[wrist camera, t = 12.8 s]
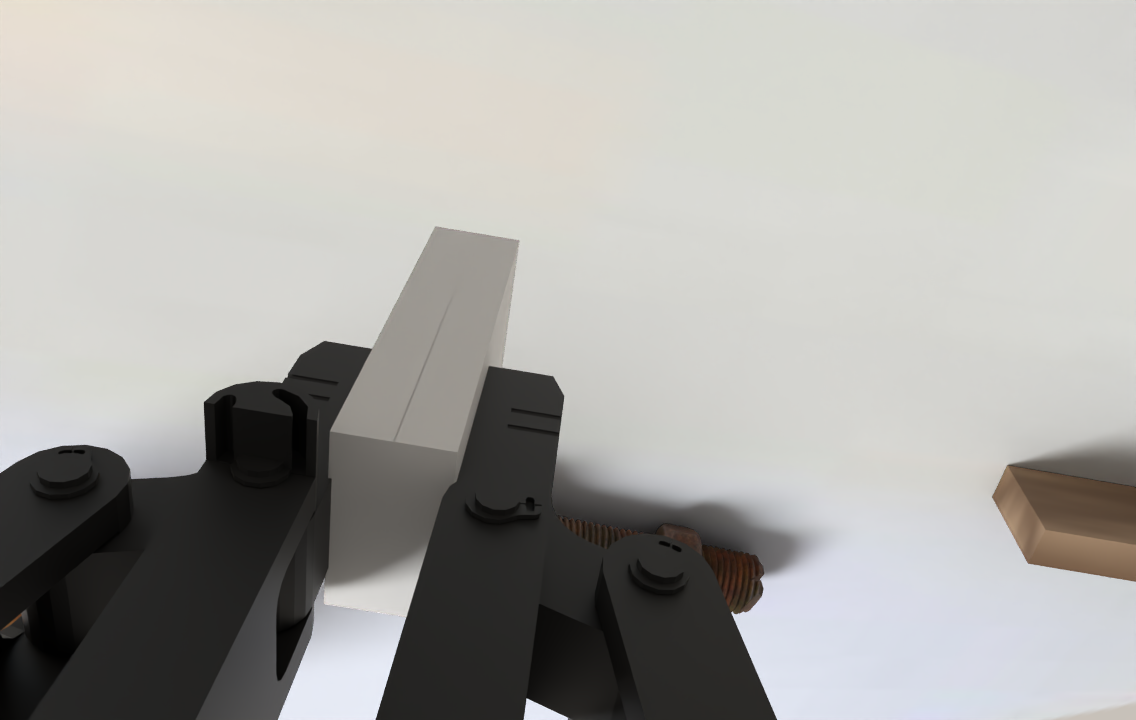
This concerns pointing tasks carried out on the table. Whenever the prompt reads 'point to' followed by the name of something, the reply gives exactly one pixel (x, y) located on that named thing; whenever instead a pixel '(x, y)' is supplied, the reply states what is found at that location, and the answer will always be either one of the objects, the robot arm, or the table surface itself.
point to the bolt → (730, 568)
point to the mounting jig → (1070, 521)
